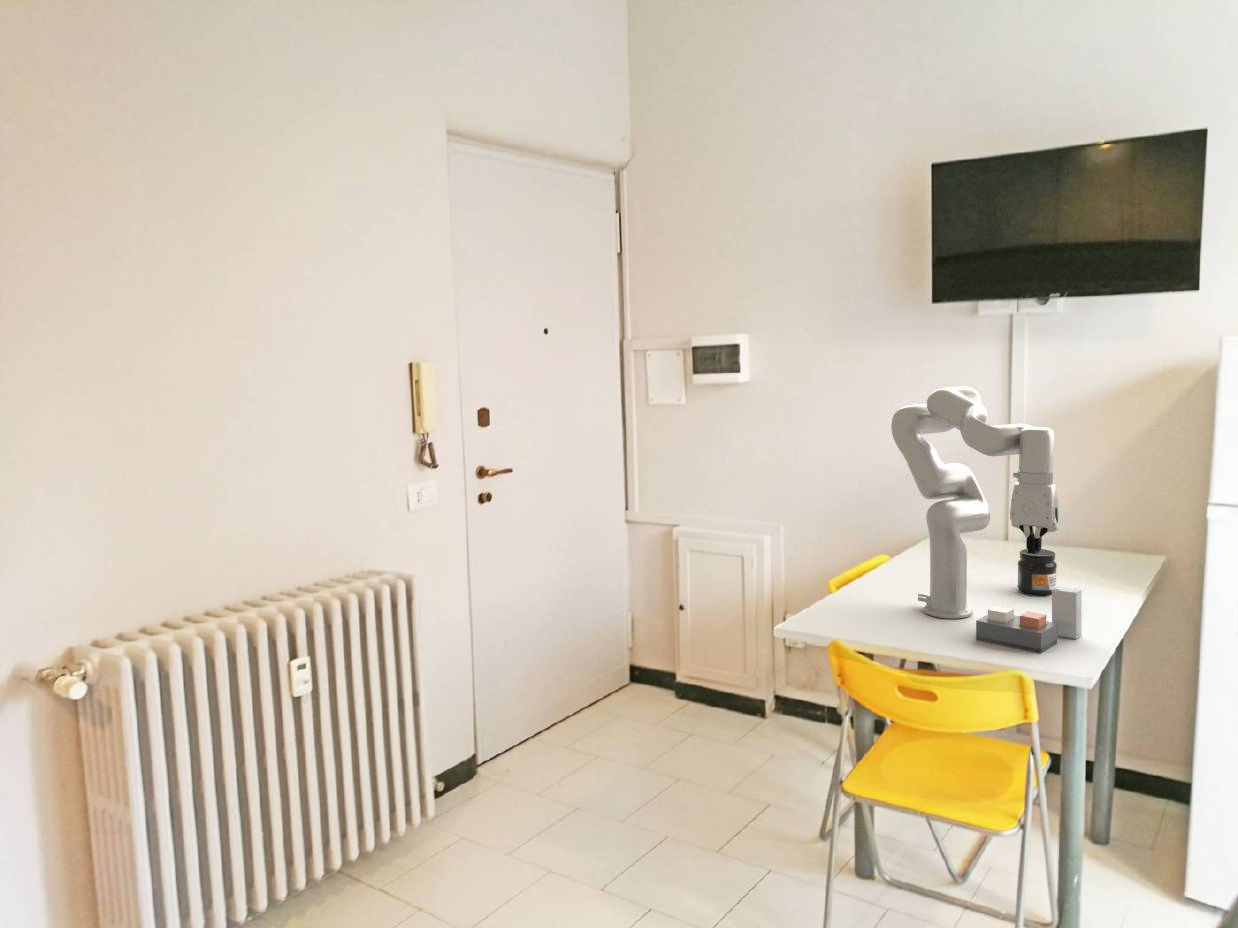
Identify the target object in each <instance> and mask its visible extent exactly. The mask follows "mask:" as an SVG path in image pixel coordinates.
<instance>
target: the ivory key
mask: <svg viewBox="0 0 1238 928" xmlns="http://www.w3.org/2000/svg"><path fill="white" fill-rule="evenodd" d="M1014 613H1015V609H1014V608H1012V607H1007V606H1006V607H1005V606H1000V605H995V606H992V607H991V608H988V609H987V615H988V620H991V621H996V622H1002V623H1008V622H1010V621H1012V620H1014Z"/></svg>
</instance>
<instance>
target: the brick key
mask: <svg viewBox="0 0 1238 928" xmlns="http://www.w3.org/2000/svg"><path fill="white" fill-rule="evenodd" d="M1019 616H1020V625H1019V626H1022V627H1027V628H1033V629H1038V630H1040V629H1041V628H1043V627H1045V626H1046V621H1047V614H1044V613H1040V612H1034V611H1026V612H1023V613H1022V614H1020V615H1019Z"/></svg>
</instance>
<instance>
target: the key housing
mask: <svg viewBox="0 0 1238 928" xmlns="http://www.w3.org/2000/svg"><path fill="white" fill-rule="evenodd" d="M1019 625H1020V615H1016V614H1015V615H1014V620H1012V621H1010V622H1008V623H1002V622H996V621H991V620H988V614H987V615H985V616H983V617H980V618H978V619H977V620H976V621H975V640H976V641H979V642H984V643H989V642H990V644H993V643H994V645H999V646H1004V647H1008V648H1013V649H1017V650H1023V651H1027V652H1031V653H1032V652H1033V653H1037V654H1042V653H1044V652H1046V651H1047V650H1048V649H1050V648H1052V647H1053V646H1055V645H1056V644H1058V636H1057V633H1058V623H1053V622H1052V621H1047V620H1046V626H1045V627H1043V628H1041V629H1040V630H1038V629H1033V628H1027V627H1022V626H1019Z"/></svg>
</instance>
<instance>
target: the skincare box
mask: <svg viewBox="0 0 1238 928" xmlns="http://www.w3.org/2000/svg"><path fill="white" fill-rule="evenodd" d="M1082 612H1083V611H1082V589H1078V588H1073V587H1065V586H1059V585H1056V587H1055V588H1054V589H1053V590H1052V594H1051V622H1053V623H1058V633H1057V637H1060V638H1067V639H1074V640H1078V639H1079V638H1080V637H1081V636H1082V635H1083V633H1082V628H1083V627H1082V620H1083V619H1082V617H1083V616H1082Z"/></svg>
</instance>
